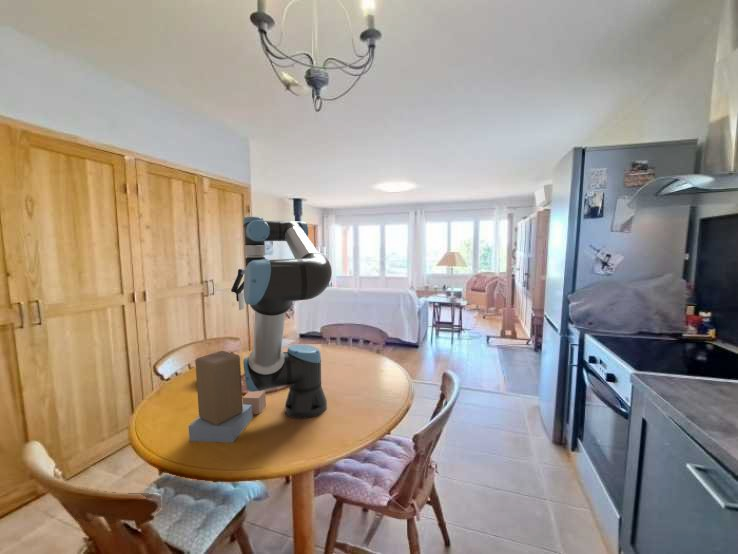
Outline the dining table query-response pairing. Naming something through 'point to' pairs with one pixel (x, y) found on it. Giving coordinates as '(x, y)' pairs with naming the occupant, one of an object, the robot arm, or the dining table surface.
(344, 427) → the dining table surface
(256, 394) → the terracotta cube
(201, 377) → the wooden block
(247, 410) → the plinth
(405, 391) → the dining table surface
